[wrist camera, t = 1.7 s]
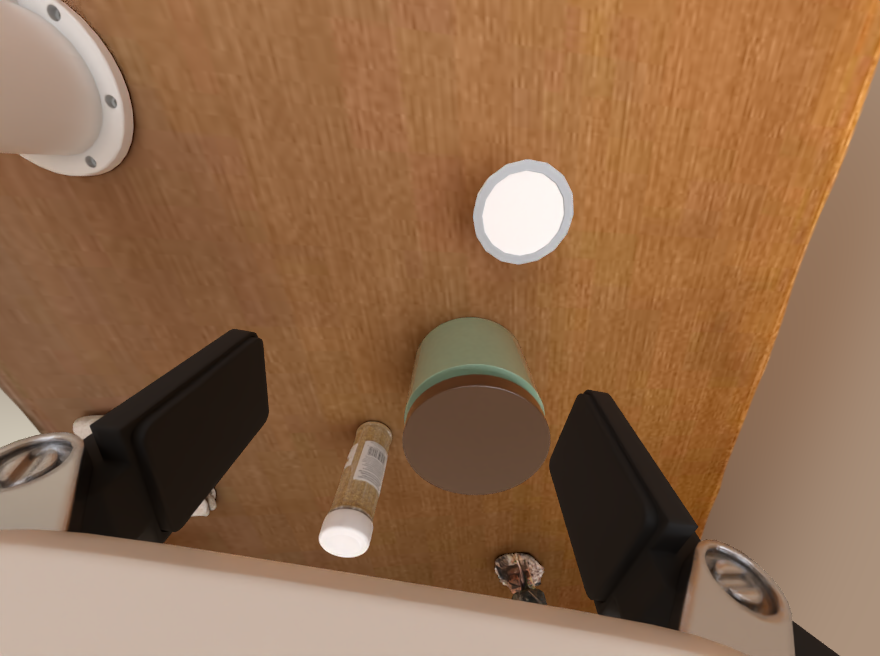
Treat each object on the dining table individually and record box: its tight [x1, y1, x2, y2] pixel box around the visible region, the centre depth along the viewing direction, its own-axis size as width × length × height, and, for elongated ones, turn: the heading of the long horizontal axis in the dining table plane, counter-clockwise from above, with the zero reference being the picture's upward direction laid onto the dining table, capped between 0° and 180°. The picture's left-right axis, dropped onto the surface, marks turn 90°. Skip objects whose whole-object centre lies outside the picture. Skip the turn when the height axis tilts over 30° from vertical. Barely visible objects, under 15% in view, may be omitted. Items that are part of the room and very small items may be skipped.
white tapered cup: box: [473, 159, 573, 264], centre depth 25 cm, size 7×7×7 cm
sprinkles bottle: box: [319, 422, 392, 557], centre depth 35 cm, size 5×5×14 cm
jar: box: [403, 317, 550, 495], centre depth 31 cm, size 12×12×12 cm
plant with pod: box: [495, 553, 547, 605], centre depth 43 cm, size 8×11×20 cm
